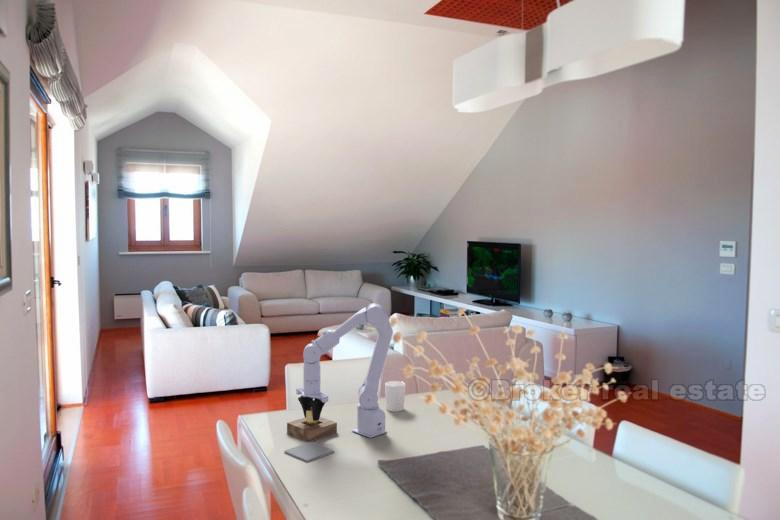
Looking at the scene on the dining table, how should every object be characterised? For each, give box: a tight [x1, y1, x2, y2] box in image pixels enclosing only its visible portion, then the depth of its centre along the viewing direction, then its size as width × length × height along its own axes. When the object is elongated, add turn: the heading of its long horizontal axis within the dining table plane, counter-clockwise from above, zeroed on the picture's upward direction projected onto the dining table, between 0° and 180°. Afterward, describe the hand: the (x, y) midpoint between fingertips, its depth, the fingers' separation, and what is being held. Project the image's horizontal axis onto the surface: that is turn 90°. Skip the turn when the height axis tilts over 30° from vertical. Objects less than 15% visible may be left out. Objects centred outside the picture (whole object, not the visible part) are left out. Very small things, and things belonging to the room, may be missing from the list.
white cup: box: [384, 380, 406, 413], centre depth 233 cm, size 8×8×10 cm
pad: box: [283, 441, 335, 463], centre depth 189 cm, size 11×11×1 cm
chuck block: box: [286, 416, 338, 442], centre depth 206 cm, size 12×12×4 cm
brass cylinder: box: [306, 407, 318, 426], centre depth 206 cm, size 4×4×8 cm
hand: (311, 418), depth 206 cm, fingers closed on brass cylinder, 4 cm apart
